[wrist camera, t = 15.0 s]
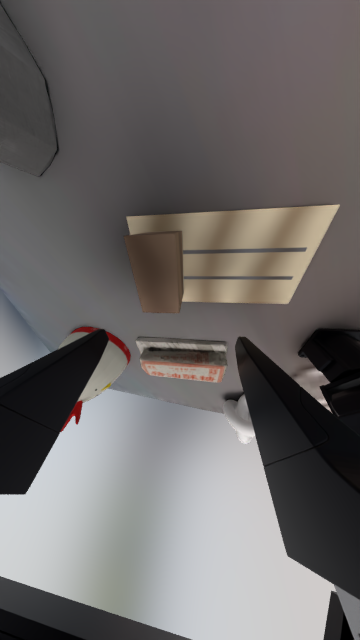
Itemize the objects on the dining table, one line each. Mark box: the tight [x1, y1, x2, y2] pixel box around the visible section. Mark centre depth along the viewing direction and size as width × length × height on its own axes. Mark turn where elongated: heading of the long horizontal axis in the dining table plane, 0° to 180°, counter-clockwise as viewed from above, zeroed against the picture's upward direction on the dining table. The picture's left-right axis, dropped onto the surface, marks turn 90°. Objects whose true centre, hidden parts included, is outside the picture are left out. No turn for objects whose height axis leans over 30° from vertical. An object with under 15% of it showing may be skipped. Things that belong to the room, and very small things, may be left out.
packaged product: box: [136, 337, 228, 382], centre depth 27 cm, size 18×5×10 cm
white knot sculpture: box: [223, 394, 255, 444], centre depth 33 cm, size 11×12×9 cm
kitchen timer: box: [58, 327, 131, 432], centre depth 25 cm, size 14×14×15 cm
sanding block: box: [124, 231, 184, 313], centre depth 14 cm, size 4×7×6 cm, turn 3°
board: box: [127, 205, 340, 304], centre depth 16 cm, size 20×10×1 cm, turn 93°
